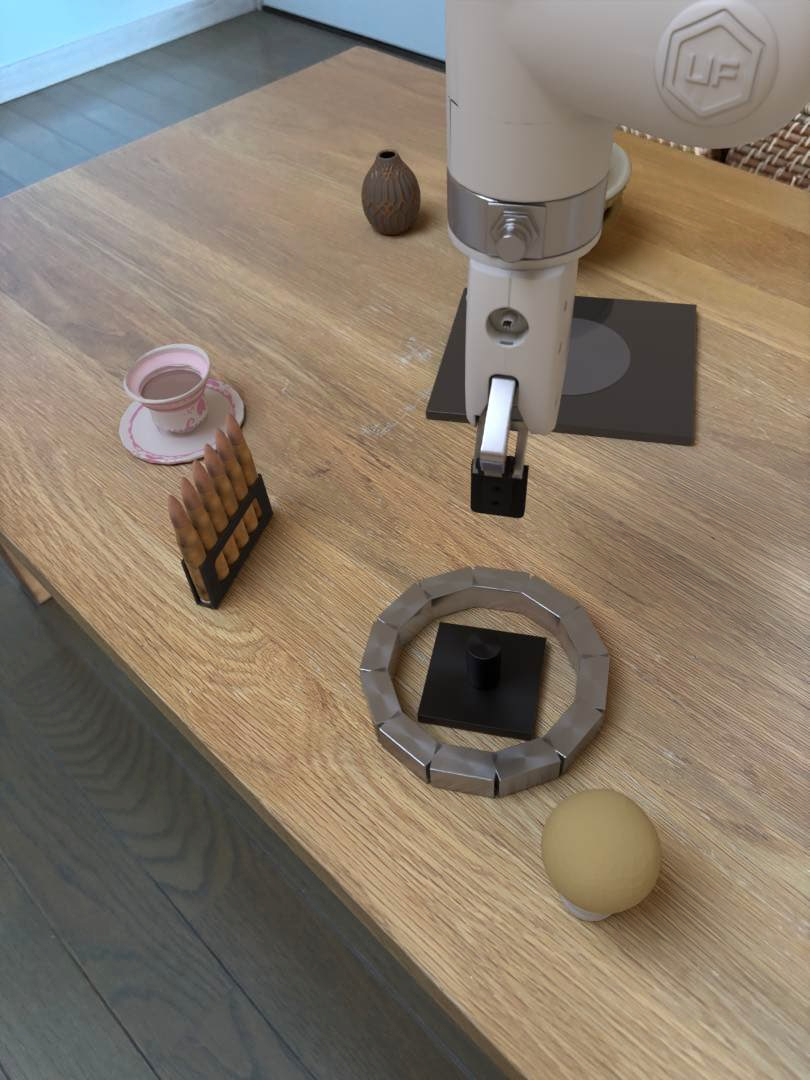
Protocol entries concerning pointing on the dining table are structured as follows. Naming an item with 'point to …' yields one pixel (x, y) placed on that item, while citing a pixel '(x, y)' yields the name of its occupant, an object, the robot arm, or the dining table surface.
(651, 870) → the light bulb
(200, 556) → the ammunition clip
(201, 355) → the teacup
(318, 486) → the dining table surface
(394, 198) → the vase
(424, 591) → the steel ring
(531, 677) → the ring stand
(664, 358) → the hob plate
